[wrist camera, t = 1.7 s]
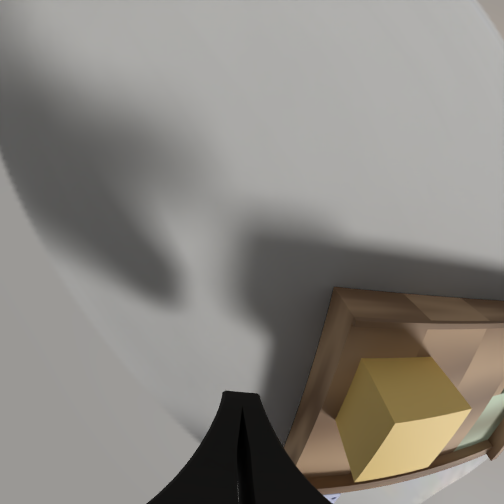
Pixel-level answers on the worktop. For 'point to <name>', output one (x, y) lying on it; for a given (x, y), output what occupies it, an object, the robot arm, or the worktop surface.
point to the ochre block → (398, 416)
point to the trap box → (401, 346)
